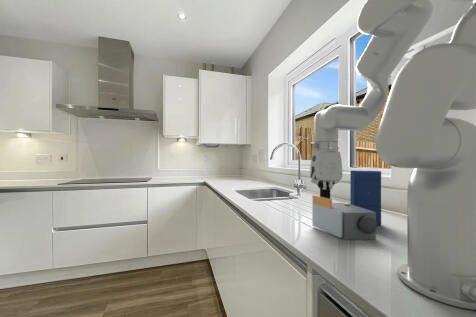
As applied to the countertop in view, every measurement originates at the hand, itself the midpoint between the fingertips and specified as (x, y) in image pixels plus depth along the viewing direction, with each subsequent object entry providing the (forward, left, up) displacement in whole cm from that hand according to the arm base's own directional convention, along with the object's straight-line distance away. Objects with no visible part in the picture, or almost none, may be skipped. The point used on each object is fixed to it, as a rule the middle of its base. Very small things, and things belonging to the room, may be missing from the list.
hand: (324, 200), depth 70 cm
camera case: (-2, -6, -10) cm, 12 cm away
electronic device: (+6, -19, -10) cm, 22 cm away
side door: (-3, +1, -9) cm, 10 cm away
